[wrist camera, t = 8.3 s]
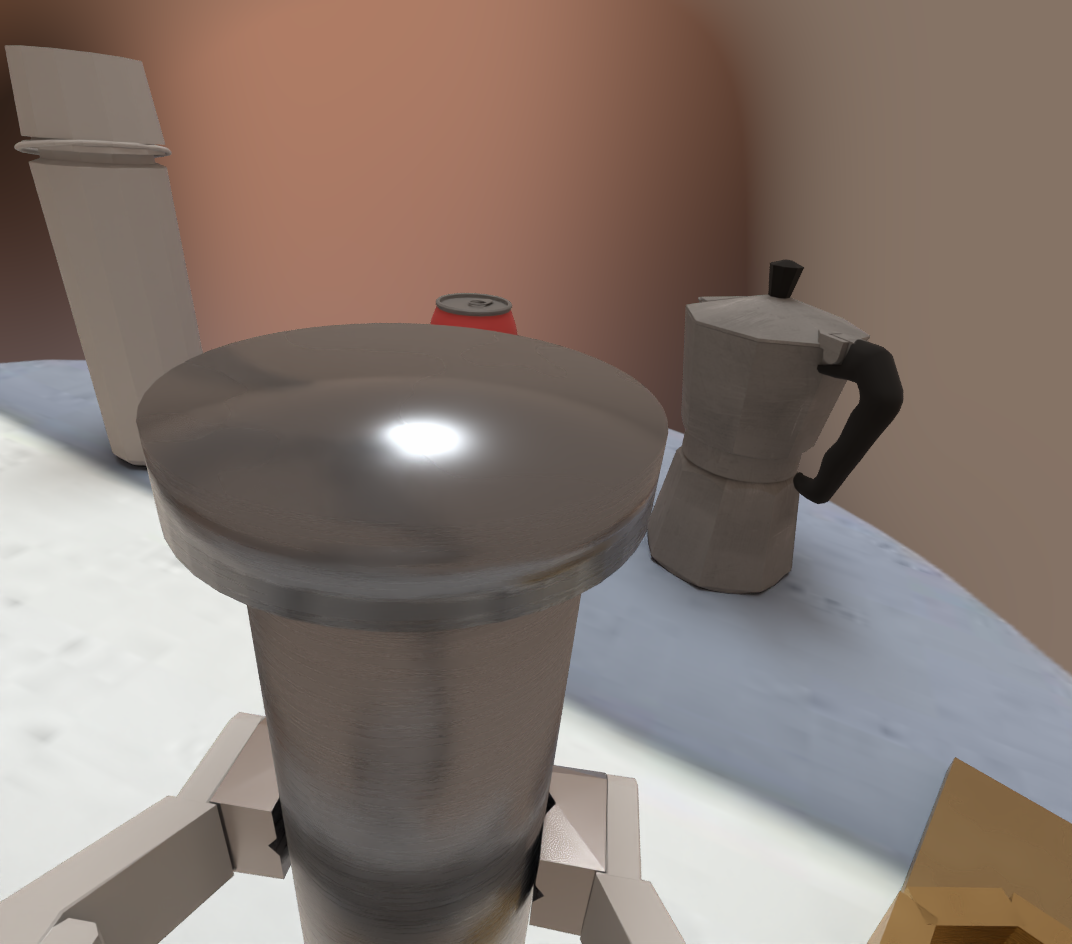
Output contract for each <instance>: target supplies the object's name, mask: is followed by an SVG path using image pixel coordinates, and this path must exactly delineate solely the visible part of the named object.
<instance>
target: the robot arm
mask: <svg viewBox="0 0 1072 944" xmlns="http://www.w3.org/2000/svg"><path fill="white" fill-rule="evenodd" d="M290 865H291V862H290V856H289V850H288V844H287V838H286V832H285V826H284V821H283V815H282V809H281V803H280V797H279V791H278V785H277V779H276V773H275V768H274V762H273V756H272V750H271V744H270V738H269V732H268V726H267V720H266V716H260V715H254V714H248V713H242V712H239V713H237V714H236V715H235V716H234V717H233V718H231V719H230V720H229V722H228V723H227V724H226V726H225V727H224V729H223V730H222V732H221V733H220V735H219V736H218V737H217V739H216V740H215V742H214V743H213V745H212V746H211V748H210V749H209V750H208V752H207V753H206V755H205V756H204V758H203V759H202V761H201V762H200V763H199V765H198V766H197V768H196V769H195V771H194V772H193V773H192V775H191V776H190V778H189V779H188V781H187V782H186V784H185V785H184V786H183V788H182V789H181V791H180V792H179V794H178V795H177V797H175V796H166V797H165V798H163V799H162V800H160V801H159V802H157V803H155V804H154V805H152V806H151V807H149V808H148V809H146V810H144V811H143V812H141V813H140V814H138V815H137V816H135V817H133V818H132V819H130V820H129V821H127V822H126V823H124V824H122V825H121V826H119V827H118V828H116V829H115V830H113V831H111V832H110V833H108V834H107V835H105V836H104V837H102V838H100V839H99V840H97V841H96V842H94V843H93V844H91V845H89V846H88V847H86V848H85V849H83V850H82V851H80V852H78V853H77V854H75V855H74V856H72V857H70V858H69V859H67V860H66V861H64V862H63V863H61V864H59V865H58V866H56V867H55V868H53V869H52V870H50V871H48V872H47V873H45V874H44V875H42V876H41V877H39V878H37V879H36V880H34V881H33V882H31V883H30V884H28V885H26V886H25V887H23V888H22V889H20V890H19V891H17V892H15V893H14V894H12V895H11V896H9V897H8V898H6V899H4V900H3V901H2V902H1V903H0V944H158V943H159V942H160V941H161V940H162V939H163V938H165V937H166V936H167V935H168V934H169V933H170V932H171V931H172V930H174V929H175V928H176V927H177V926H178V925H179V924H180V923H181V922H182V921H184V920H185V919H186V918H187V917H188V916H189V915H190V914H191V913H192V912H194V911H195V910H196V909H197V908H198V907H199V906H200V905H201V904H202V903H204V902H205V901H206V900H207V899H208V898H209V897H210V896H211V895H212V894H214V893H215V892H216V891H217V890H218V889H219V888H220V887H221V886H223V885H224V884H225V883H226V882H227V881H228V880H229V879H230V878H231V877H233V876H234V872H239V873H246V874H253V875H259V876H266V877H272V878H279V879H284V878H285V876H286V874H287V872H288V869H289V867H290ZM529 925H533V926H537V927H542V928H546V929H551V930H556V931H560V932H565V933H570V934H574V935H579V936H581V937H580V940H581V943H582V944H686V943H685V941H684V940H683V938H682V936H681V934H680V933H679V931H678V929H677V927H676V926H675V924H674V922H673V920H672V919H671V917H670V915H669V913H668V912H667V910H666V908H665V906H664V905H663V903H662V901H661V899H660V898H659V896H658V894H657V892H656V891H655V889H654V887H653V886H652V884H651V882H649V881H645V880H641V857H640V829H639V800H638V784H637V782H636V779H635V778H629V777H622V776H615V775H608V774H606V773H603V772H596V771H589V770H583V769H576V768H570V767H563V766H556V765H553V771H552V777H551V783H550V789H549V795H548V802H547V808H546V814H545V818H544V822H543V828H542V834H541V840H540V846H539V855H538V860H537V865H536V872H535V878H534V885H533V894H532V904H531V913H530V922H529Z"/></svg>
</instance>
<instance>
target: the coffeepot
mask: <svg viewBox="0 0 1072 944" xmlns="http://www.w3.org/2000/svg"><path fill="white" fill-rule="evenodd" d="M803 269H804V267H802V266H801V265H799V264H797V263H795V262H793V261H791V260H781V261H776V262H771V263H770V273H769V293H768V295H759V296H750V297H748V296H737V297H736V296H734V297H699V298H698V299H699V301H700V303H695V304H689V305H686V316H685V341H684V365H683V390H682V419H683V423H684V427H685V429H686V430H685V434H684V439H683V443H682V446H681V447H680V448H678V449H677V450H676V453H675V455H674V458H673V460H672V463H671V466H670V468H669V471H668V473H667V476H666V478H665V481H664V483H663V486H662V488H661V491H660V493H659V496H658V498H657V501H656V503H655V506H654V508H653V511H652V513H651V516H650V520H649V523H648V527H647V529H648V544H649V547H650V550H651V556H652V557H653V558H654V559H655V560H656V561H657V562H658V563H660V564H661V565H662V566H663V567H664V568H665V569H667V570H668V571H669V572H671V573H672V574H673V575H675V576H677V577H679V578H681V579H682V580H684V581H686V582H689V583H691V584H694V585H696V586H698V587H702V588H705V589H709V590H712V591H718V592H724V593H736V594H745V593H756V592H762V591H764V590H766V589H768V588H770V587H772V586H774V585H775V584H776V583H777V582H778V581H779V580H780V579H781V578H782V577H783V576H784V575H785V574H787V573H788V572H790V571H791V568H792V559H793V549H794V540H795V531H796V521H797V512H798V503H799V493H800V494H801V495H803V496H804V497H805V498H807V499H809V500H810V501H812V502H814V503H817V504H822V503H826V502H828V501H829V500H830V498H831V497H832V496H833V495H834V493H835V492H836V491H837V490H838V488H839V487H840V486H841V485H842V483H843V482H844V481H845V479H846V478H847V477H848V475H849V474H850V473H851V471H852V470H853V469H854V468H855V466H856V465H857V464H858V463H859V462H860V460H861V459H862V458H863V456H864V455H865V454H866V452H867V451H868V450H869V449H870V447H871V446H872V445H873V444H874V442H875V441H876V440H877V438H878V437H879V436H880V435H881V434H882V432H883V431H884V430H885V429H886V428H887V427H888V425H889V424H890V423H891V422H892V421H893V419H894V418H895V417H896V415H897V414H898V412H899V411H900V408H901V405H902V403H903V388H902V385H901V382H900V378H899V375H898V372H897V369H896V365H895V362H894V359H893V356H892V354H890V352H888V351H887V350H886V349H885V348H884V347H881V346H879V345H876V344H873V343H870V342H868V341H867V340H868V339H869V338H870V335H868V334H867V333H865V332H863V331H862V330H861V329H859V328H857V327H856V326H854V325H853V324H851V323H850V322H848V321H847V320H845V319H843V318H841V317H838V316H836V315H833V314H831V313H828V312H826V311H823V310H821V309H818V308H815V307H813V306H810V305H808V304H806V303H803V302H800V301H798V300H795V299H793V298H790V296H791V294H792V292H793V290H794V288H795V286H796V284H797V281H798V279H799V277H800V275H801V273H802V271H803ZM847 380H850V381H852V382H855V383H857V385H858V388H859V392H860V400H859V404H858V405H857V406H856V408H855V409H854V410H853V411H852V413H851V414H850V417H849V419H848V421H847V423H846V425H845V427H844V429H843V431H842V433H841V435H840V437H839V439H838V440H837V442H836V443H835V444H834V445H833V446H832V447H831V448H829V450H828V451H827V452H826V453H825V455H824V457H823V460H822V463H821V467H820V470H819V472H818V475H817V476H816V477H815V478H814V479H812V478H809V477H807V476H804V475H803V474H802V473H800V472H799V473H798V472H797V469H798V466H799V462H800V459H801V455H802V453H803V452H805V451H807V450H808V449H810V448H811V447H813V446H814V445H815V443H816V441H817V439H818V437H819V435H820V433H821V431H822V429H823V427H824V425H825V423H826V421H827V419H828V417H829V415H830V413H831V411H832V409H833V407H834V405H835V403H836V401H837V399H838V397H839V395H840V394H841V391H842V390H843V387H844V385H845V384H846V382H847Z"/></svg>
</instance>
